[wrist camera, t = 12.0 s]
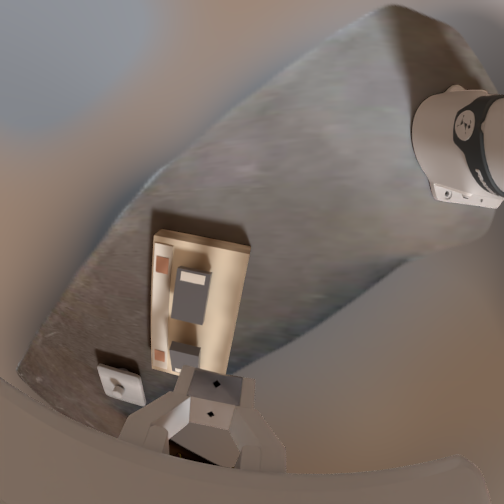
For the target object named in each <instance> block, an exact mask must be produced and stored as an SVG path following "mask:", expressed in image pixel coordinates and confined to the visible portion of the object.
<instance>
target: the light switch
mask: <svg viewBox="0 0 504 504" xmlns="http://www.w3.org/2000/svg"><path fill="white" fill-rule="evenodd" d="M97 369H98V372H99V375H100V379H101V382H102V385H103V388H104V390H105V393H106V394H107V395H108V396H111V397H114V398H117V399H120V400H123V401H126V402H130V403H133V404H137V405H140V406H145V404H146V399H145V395H144V390H143V386H142V381H141V377H140V376H139V375H138V374H135V373H131V372H128V370H127V369H125V368H119V369H117V368H114V367H110V366H107V365H104V364H101V363H99V364H98V366H97Z"/></svg>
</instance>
